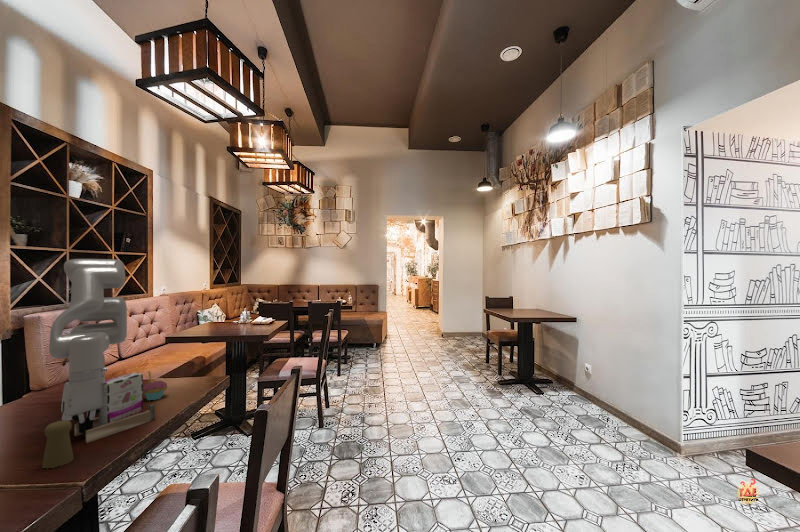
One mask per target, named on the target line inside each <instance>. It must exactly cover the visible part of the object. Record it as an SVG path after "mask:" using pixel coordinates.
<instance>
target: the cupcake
mask: <svg viewBox="0 0 800 532" xmlns="http://www.w3.org/2000/svg"><path fill="white" fill-rule="evenodd" d="M148 378H149V382H148V383H146V384H144V385H143V395H145V397H146V400H147V401H148V400H149V401H148V402H151V401H150V400H154V401H158V400H160V399H162V398H161V397H163V395H164V392H165V390H167V389H168V383H166V382H165V381H163V380H155V381H153V379H152V374H151V372H150V371H148ZM157 399H158V400H157Z"/></svg>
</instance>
